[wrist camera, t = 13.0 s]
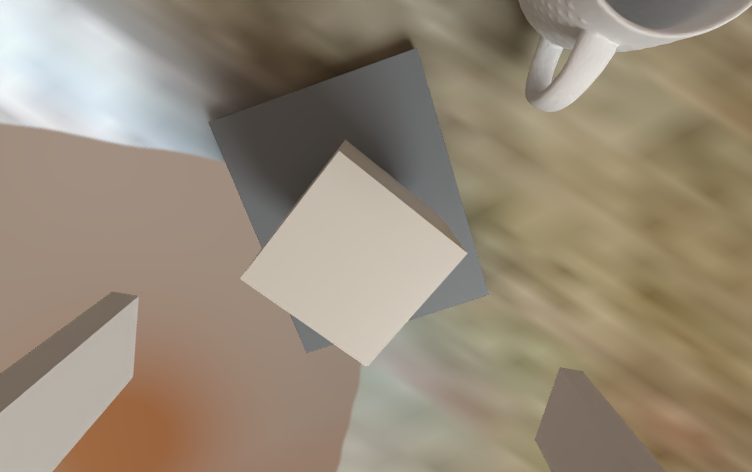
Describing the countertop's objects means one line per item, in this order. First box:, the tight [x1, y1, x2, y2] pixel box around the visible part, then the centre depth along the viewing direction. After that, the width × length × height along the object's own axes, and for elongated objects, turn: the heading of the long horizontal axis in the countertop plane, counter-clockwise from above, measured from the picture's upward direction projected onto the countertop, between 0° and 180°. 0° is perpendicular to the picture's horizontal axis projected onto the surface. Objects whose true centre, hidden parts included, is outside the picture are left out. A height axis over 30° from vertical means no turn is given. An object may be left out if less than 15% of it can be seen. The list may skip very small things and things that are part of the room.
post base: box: [209, 48, 489, 353], centre depth 32 cm, size 20×16×10 cm
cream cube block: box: [240, 140, 468, 367], centre depth 28 cm, size 8×8×8 cm
